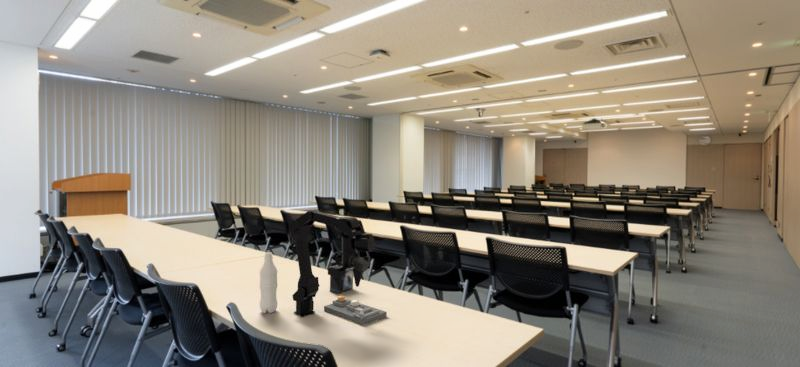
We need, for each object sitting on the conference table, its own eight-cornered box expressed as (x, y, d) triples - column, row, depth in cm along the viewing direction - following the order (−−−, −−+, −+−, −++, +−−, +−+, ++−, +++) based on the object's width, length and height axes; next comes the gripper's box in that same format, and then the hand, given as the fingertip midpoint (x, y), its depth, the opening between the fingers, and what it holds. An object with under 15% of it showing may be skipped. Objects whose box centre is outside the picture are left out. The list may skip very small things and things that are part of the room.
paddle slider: (360, 317, 157) (360, 310, 157) (354, 316, 159) (354, 308, 159) (363, 316, 158) (363, 309, 158) (358, 314, 160) (358, 307, 160)
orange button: (340, 303, 171) (340, 298, 171) (335, 301, 174) (335, 296, 174) (346, 301, 174) (346, 296, 174) (341, 299, 176) (341, 295, 176)
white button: (354, 307, 165) (354, 303, 165) (349, 306, 168) (349, 301, 168) (360, 305, 168) (360, 301, 168) (355, 304, 170) (355, 299, 170)
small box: (338, 294, 195) (338, 272, 195) (329, 291, 199) (329, 270, 199) (353, 289, 203) (353, 268, 203) (344, 286, 207) (344, 266, 207)
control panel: (363, 325, 155) (363, 316, 155) (324, 310, 171) (324, 302, 171) (386, 316, 165) (386, 308, 165) (347, 303, 181) (347, 295, 181)
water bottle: (271, 315, 166) (271, 255, 165) (256, 313, 167) (256, 254, 166) (280, 309, 173) (280, 251, 172) (265, 308, 174) (265, 250, 173)
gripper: (348, 256, 145) (348, 298, 145) (380, 248, 160) (380, 287, 160) (326, 252, 151) (326, 293, 151) (359, 245, 166) (359, 282, 167)
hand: (349, 289), depth 157 cm, fingers open, 9 cm apart
